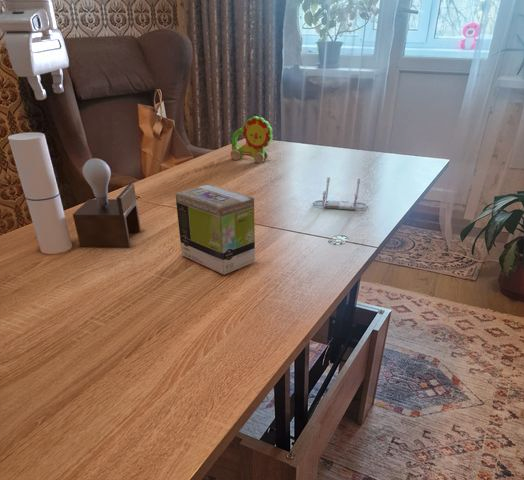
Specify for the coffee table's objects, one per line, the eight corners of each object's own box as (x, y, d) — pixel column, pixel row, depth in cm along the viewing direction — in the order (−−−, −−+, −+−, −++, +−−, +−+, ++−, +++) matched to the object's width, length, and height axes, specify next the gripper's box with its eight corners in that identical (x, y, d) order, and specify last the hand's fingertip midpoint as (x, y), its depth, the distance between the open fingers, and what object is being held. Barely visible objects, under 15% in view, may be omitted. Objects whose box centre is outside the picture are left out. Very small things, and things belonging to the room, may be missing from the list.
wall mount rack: (311, 210, 136) (312, 189, 133) (316, 195, 147) (317, 175, 143) (366, 213, 133) (369, 192, 130) (368, 198, 144) (370, 178, 141)
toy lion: (230, 160, 181) (228, 115, 172) (236, 156, 185) (235, 113, 176) (268, 164, 176) (268, 119, 167) (274, 161, 180) (274, 116, 171)
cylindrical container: (38, 255, 112) (4, 140, 97) (43, 243, 117) (11, 133, 103) (70, 252, 113) (41, 138, 98) (73, 240, 119) (46, 131, 104)
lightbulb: (121, 203, 117) (112, 156, 111) (109, 211, 112) (99, 163, 106) (98, 201, 118) (88, 154, 112) (85, 209, 113) (74, 161, 107)
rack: (80, 246, 116) (68, 197, 109) (95, 229, 125) (85, 182, 118) (129, 247, 115) (120, 197, 108) (141, 230, 124) (133, 183, 117)
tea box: (256, 262, 108) (256, 196, 100) (223, 276, 102) (219, 208, 94) (213, 243, 117) (209, 181, 108) (180, 256, 111) (173, 191, 103)
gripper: (39, 18, 106) (55, 89, 114) (-8, 20, 89) (15, 103, 97) (67, 18, 106) (81, 89, 114) (25, 20, 89) (45, 103, 97)
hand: (50, 96), depth 105 cm, fingers open, 8 cm apart
